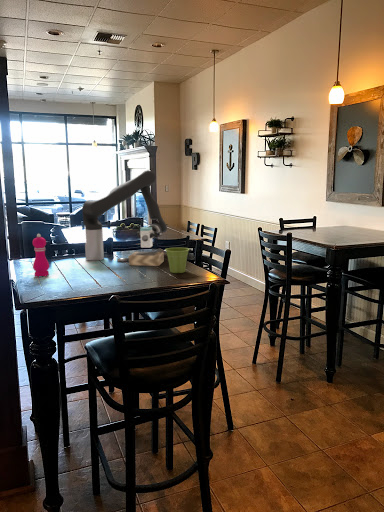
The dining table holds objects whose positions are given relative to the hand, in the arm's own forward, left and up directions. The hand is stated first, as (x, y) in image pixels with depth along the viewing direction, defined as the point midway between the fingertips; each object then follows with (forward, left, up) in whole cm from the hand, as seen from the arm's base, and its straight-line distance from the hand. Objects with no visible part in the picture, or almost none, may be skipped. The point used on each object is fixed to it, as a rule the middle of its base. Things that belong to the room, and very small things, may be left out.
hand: (145, 236), depth 219 cm
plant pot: (+20, -18, -15) cm, 31 cm away
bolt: (-14, +4, -15) cm, 21 cm away
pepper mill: (-43, -32, -15) cm, 56 cm away
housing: (0, +3, -6) cm, 7 cm away
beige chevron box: (0, +2, -15) cm, 15 cm away
